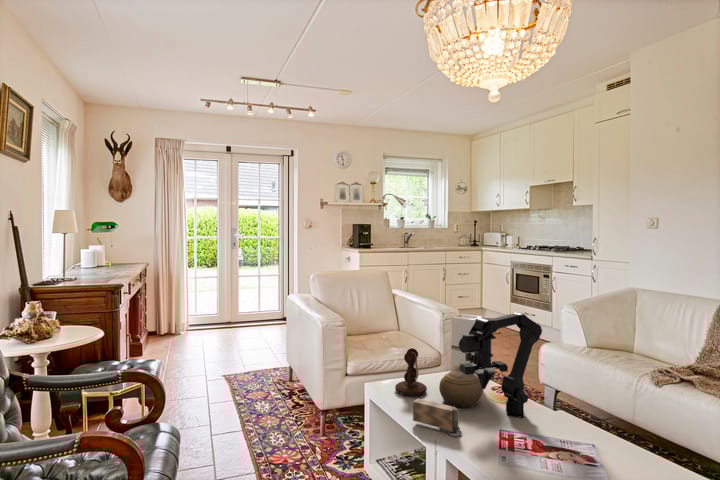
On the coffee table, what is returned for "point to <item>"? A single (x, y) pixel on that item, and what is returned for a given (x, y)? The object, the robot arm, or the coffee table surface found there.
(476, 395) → the brown round pot
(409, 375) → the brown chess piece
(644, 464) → the coffee table surface
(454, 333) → the white square post
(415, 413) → the block
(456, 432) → the hinge base
